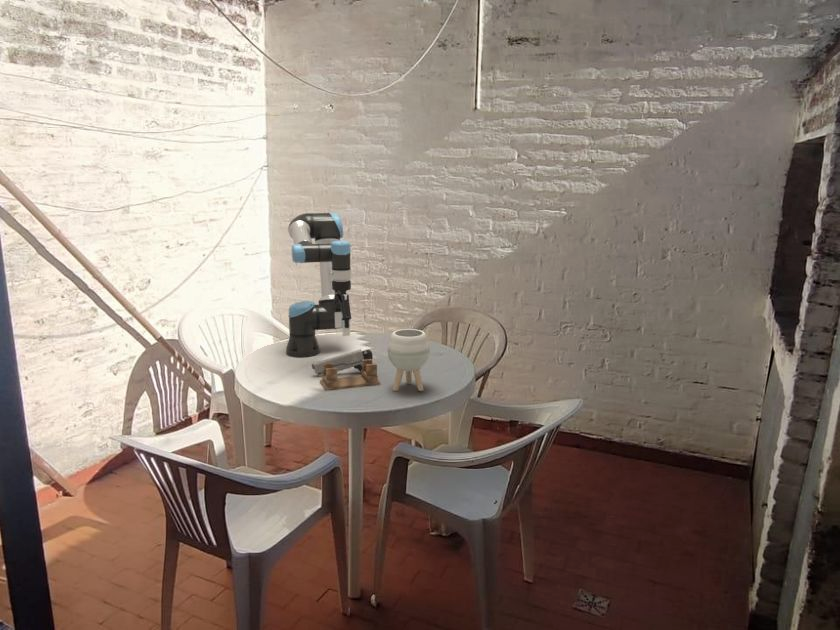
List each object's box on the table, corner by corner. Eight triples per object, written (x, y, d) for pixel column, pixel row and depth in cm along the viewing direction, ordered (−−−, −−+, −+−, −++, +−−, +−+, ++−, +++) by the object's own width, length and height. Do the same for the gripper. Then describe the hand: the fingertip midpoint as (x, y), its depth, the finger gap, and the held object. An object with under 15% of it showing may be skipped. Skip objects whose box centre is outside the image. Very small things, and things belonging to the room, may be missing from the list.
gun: (376, 370, 266) (371, 348, 263) (318, 387, 261) (311, 365, 258) (375, 368, 269) (369, 346, 266) (317, 385, 263) (311, 363, 261)
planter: (434, 393, 243) (435, 336, 238) (393, 397, 238) (393, 339, 233) (422, 380, 258) (422, 326, 253) (383, 383, 253) (383, 329, 248)
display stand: (325, 390, 245) (324, 370, 243) (320, 382, 254) (319, 363, 252) (380, 384, 252) (380, 365, 250) (373, 376, 261) (373, 357, 259)
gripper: (325, 275, 265) (326, 324, 270) (339, 286, 242) (340, 339, 247) (343, 274, 267) (343, 323, 272) (358, 284, 245) (359, 338, 250)
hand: (342, 331), depth 260 cm, fingers open, 13 cm apart
